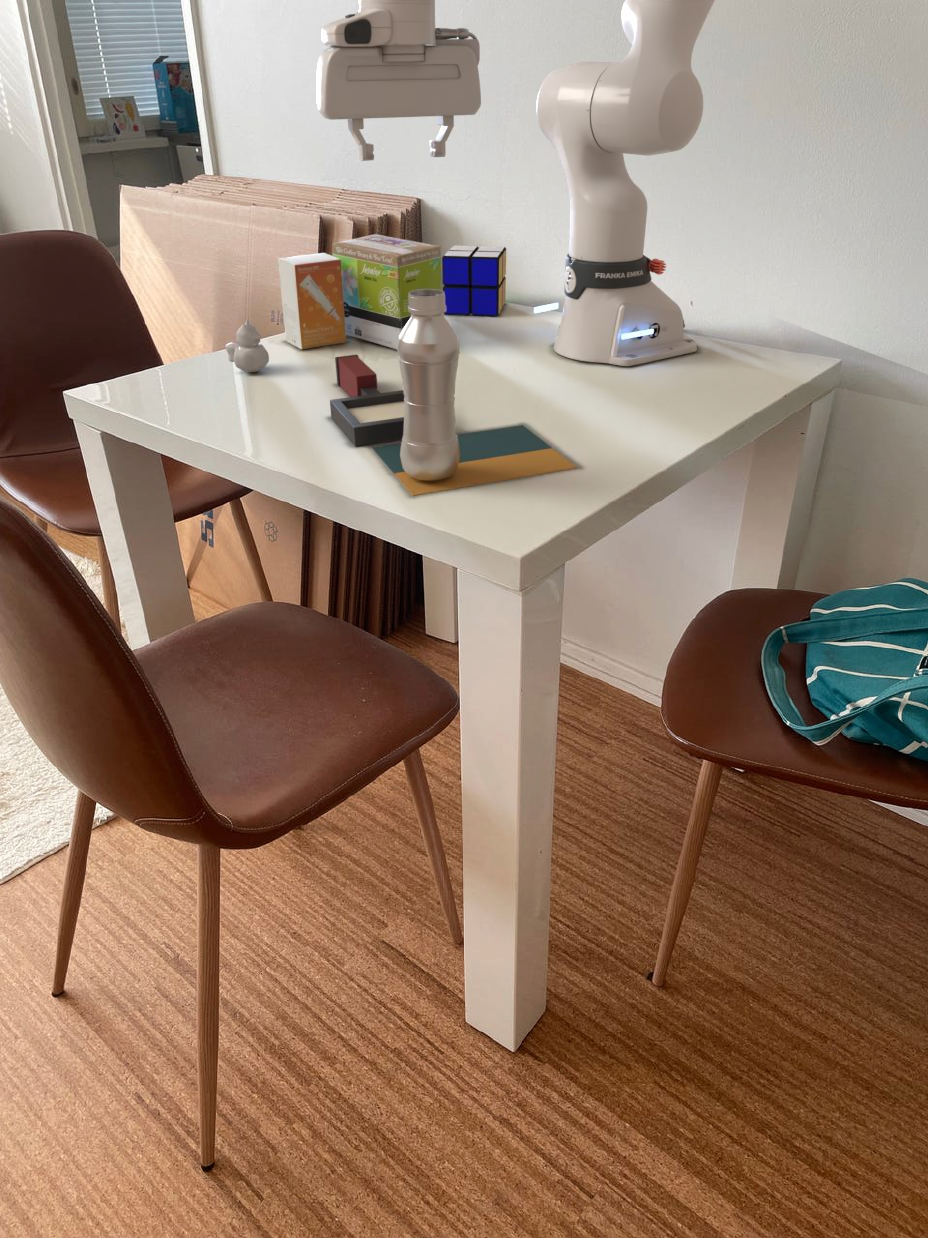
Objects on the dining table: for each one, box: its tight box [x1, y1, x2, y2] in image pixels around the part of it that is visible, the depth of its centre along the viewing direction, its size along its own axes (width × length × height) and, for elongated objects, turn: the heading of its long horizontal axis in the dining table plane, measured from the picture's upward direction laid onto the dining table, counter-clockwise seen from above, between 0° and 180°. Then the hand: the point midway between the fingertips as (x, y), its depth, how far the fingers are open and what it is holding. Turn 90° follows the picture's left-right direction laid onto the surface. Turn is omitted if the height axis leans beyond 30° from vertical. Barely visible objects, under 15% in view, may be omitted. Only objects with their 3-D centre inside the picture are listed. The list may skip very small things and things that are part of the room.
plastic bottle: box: [396, 289, 461, 481], centre depth 100 cm, size 6×7×20 cm
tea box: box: [331, 233, 442, 351], centre depth 150 cm, size 15×10×15 cm, turn 49°
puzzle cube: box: [441, 244, 507, 317], centre depth 167 cm, size 10×10×10 cm
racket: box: [329, 354, 405, 447], centre depth 123 cm, size 24×12×4 cm, turn 22°
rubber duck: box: [224, 316, 270, 373], centre depth 137 cm, size 5×7×8 cm
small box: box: [277, 252, 347, 350], centre depth 148 cm, size 8×6×13 cm
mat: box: [372, 424, 578, 497], centre depth 110 cm, size 20×15×1 cm
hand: (402, 158), depth 117 cm, fingers open, 8 cm apart
